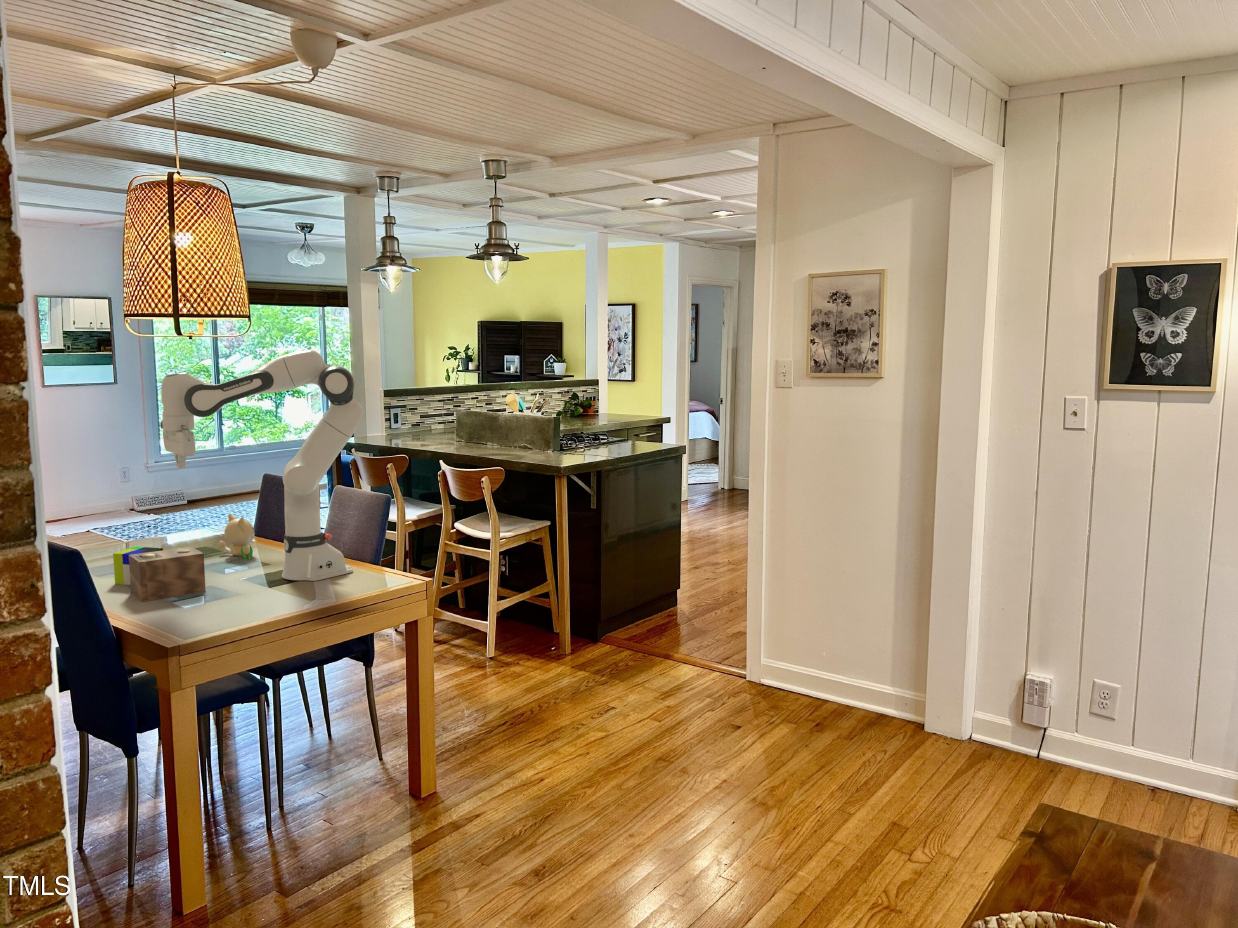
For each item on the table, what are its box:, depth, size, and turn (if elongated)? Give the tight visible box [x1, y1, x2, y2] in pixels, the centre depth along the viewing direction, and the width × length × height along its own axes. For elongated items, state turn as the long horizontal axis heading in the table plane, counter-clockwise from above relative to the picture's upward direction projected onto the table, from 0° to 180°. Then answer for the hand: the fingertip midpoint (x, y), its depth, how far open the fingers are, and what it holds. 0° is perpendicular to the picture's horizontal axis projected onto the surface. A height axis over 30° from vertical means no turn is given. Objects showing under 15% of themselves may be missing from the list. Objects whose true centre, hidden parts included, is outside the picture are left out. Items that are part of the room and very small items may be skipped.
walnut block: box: [129, 546, 207, 603], centre depth 270 cm, size 18×12×12 cm, turn 132°
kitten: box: [218, 513, 256, 560], centre depth 318 cm, size 15×10×15 cm, turn 49°
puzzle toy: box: [112, 546, 164, 586], centre depth 283 cm, size 10×10×10 cm
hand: (180, 467), depth 278 cm, fingers closed
